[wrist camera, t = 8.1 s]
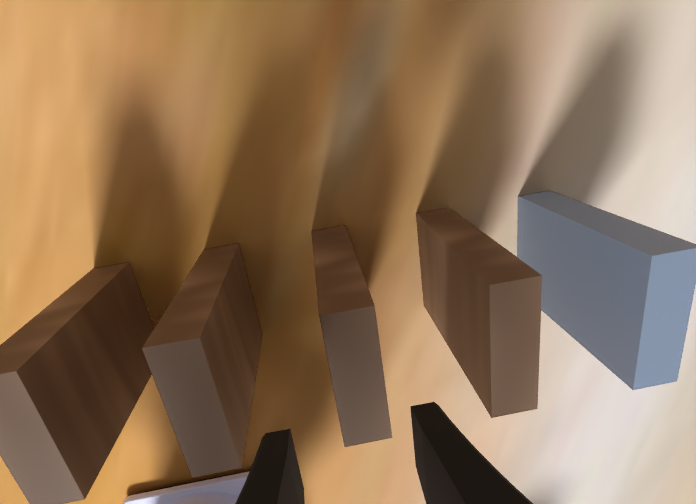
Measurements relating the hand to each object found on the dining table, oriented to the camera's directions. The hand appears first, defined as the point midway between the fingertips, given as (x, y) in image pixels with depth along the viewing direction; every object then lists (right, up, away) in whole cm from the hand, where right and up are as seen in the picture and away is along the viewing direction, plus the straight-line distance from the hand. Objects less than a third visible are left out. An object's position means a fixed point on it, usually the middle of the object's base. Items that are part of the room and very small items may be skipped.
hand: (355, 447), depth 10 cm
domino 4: (+4, +5, +10) cm, 12 cm away
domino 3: (-1, +4, +10) cm, 10 cm away
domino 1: (-11, +2, +9) cm, 14 cm away
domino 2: (-6, +3, +9) cm, 11 cm away
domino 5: (+9, +6, +10) cm, 15 cm away
